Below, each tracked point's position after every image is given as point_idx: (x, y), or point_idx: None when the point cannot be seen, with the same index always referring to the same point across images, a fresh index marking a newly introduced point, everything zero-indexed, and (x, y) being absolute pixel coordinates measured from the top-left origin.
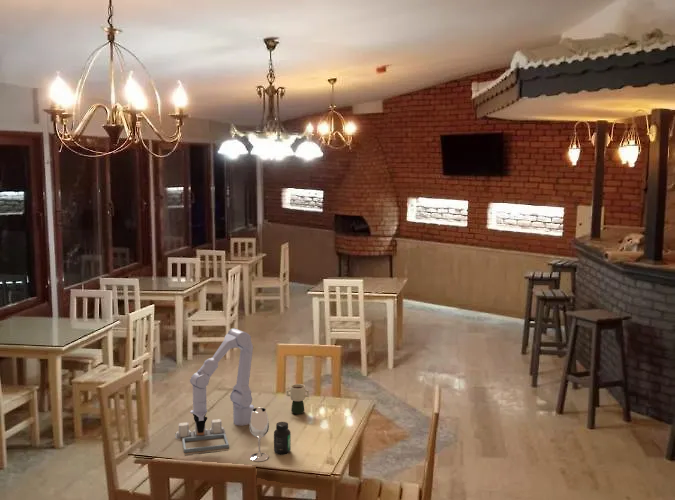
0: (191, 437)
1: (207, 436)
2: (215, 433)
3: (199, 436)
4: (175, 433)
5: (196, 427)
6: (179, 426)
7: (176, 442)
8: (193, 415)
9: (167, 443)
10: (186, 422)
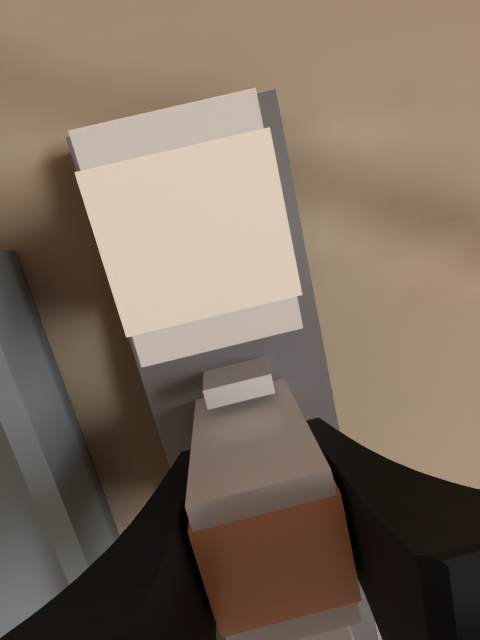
0: (2, 390)
1: (68, 577)
2: None
3: (49, 489)
4: (272, 96)
5: (192, 473)
6: (81, 148)
7: (52, 161)
8: (413, 557)
9: (7, 28)
10: (298, 291)
